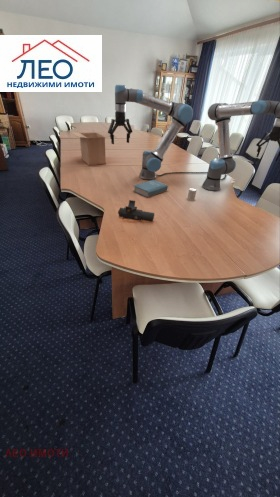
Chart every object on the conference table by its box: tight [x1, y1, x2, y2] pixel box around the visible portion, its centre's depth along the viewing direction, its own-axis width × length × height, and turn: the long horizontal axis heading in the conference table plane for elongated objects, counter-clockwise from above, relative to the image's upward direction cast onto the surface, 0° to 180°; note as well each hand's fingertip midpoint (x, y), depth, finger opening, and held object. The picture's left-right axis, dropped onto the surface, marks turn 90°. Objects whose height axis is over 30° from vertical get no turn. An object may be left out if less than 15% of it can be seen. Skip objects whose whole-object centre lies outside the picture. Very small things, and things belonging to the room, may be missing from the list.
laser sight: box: [117, 199, 155, 223], centre depth 137 cm, size 10×22×10 cm, turn 78°
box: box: [70, 129, 110, 166], centre depth 229 cm, size 44×36×27 cm
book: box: [133, 179, 169, 198], centre depth 177 cm, size 23×16×5 cm
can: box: [186, 187, 197, 202], centre depth 168 cm, size 6×6×8 cm
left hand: (120, 143), depth 172 cm, fingers open, 13 cm apart
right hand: (266, 158), depth 162 cm, fingers open, 13 cm apart
